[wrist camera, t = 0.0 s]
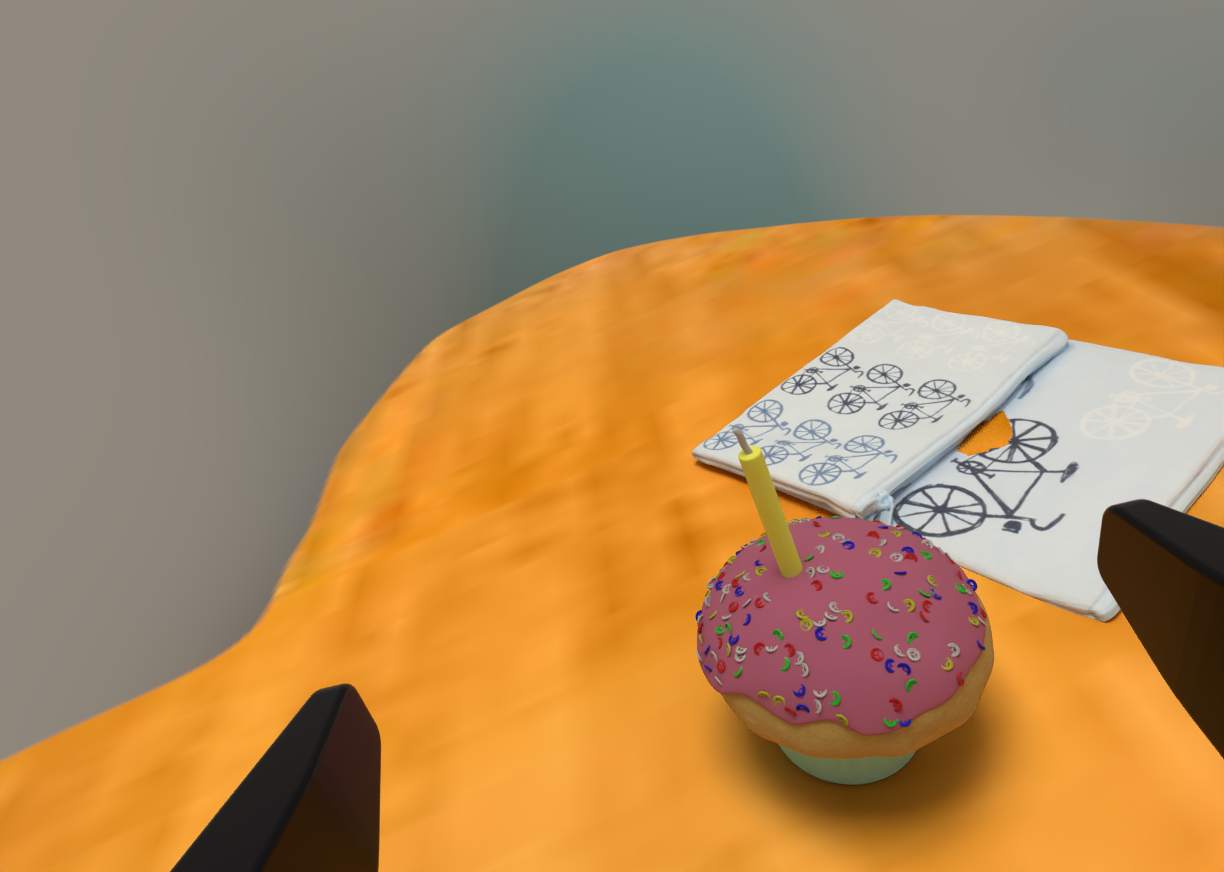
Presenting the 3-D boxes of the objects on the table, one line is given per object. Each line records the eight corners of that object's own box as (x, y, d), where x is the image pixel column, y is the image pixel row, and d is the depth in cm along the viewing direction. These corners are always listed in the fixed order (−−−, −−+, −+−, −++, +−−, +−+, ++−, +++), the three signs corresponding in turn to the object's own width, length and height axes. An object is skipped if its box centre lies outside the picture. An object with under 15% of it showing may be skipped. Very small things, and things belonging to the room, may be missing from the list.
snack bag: (901, 319, 51) (900, 287, 49) (1304, 403, 36) (1315, 361, 35) (688, 472, 42) (681, 437, 41) (1105, 664, 27) (1112, 619, 26)
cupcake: (719, 843, 24) (639, 543, 18) (719, 632, 31) (662, 364, 25) (1024, 838, 23) (1053, 503, 16) (952, 615, 30) (952, 322, 23)
